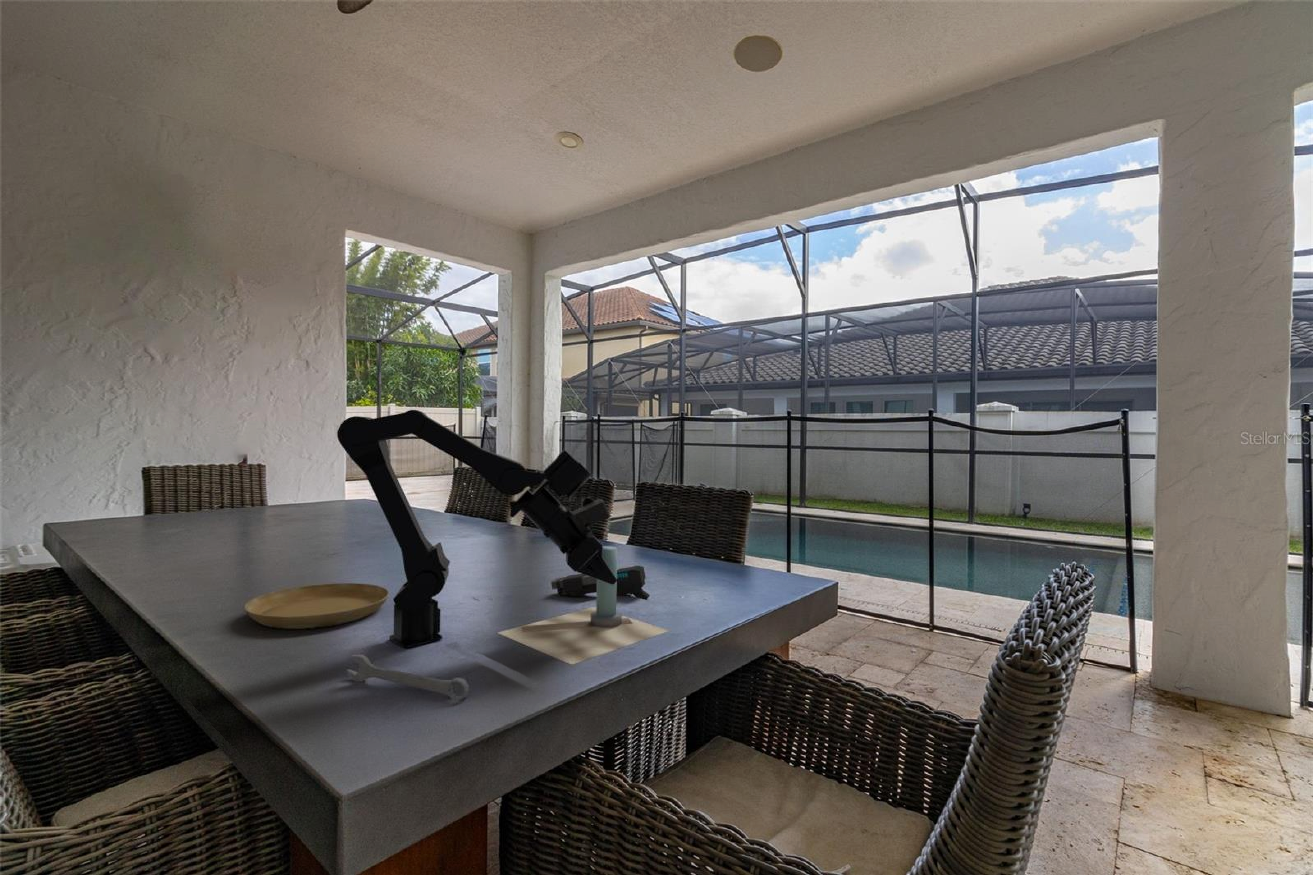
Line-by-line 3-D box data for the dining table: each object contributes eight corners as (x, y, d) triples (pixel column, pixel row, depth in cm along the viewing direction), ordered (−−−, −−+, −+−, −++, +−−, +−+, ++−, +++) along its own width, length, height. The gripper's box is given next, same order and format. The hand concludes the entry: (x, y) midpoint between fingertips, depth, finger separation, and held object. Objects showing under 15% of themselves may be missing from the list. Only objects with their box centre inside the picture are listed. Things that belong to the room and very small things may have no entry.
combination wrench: (470, 675, 80) (353, 650, 87) (464, 678, 79) (345, 654, 86) (469, 702, 81) (352, 676, 87) (463, 707, 79) (345, 680, 86)
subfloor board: (571, 671, 90) (571, 664, 90) (497, 638, 103) (497, 632, 103) (670, 636, 106) (670, 630, 106) (594, 611, 119) (594, 606, 119)
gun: (649, 602, 126) (634, 556, 126) (563, 627, 130) (549, 582, 130) (653, 596, 130) (639, 552, 131) (570, 621, 134) (556, 577, 134)
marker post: (610, 629, 106) (611, 552, 106) (584, 624, 109) (585, 548, 108) (627, 621, 111) (628, 547, 111) (602, 616, 113) (603, 544, 113)
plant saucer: (339, 591, 132) (339, 576, 132) (415, 608, 121) (415, 591, 121) (216, 621, 111) (216, 603, 111) (294, 644, 100) (295, 624, 100)
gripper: (589, 489, 99) (653, 554, 102) (577, 480, 117) (632, 535, 120) (539, 538, 98) (606, 603, 100) (535, 521, 116) (592, 576, 118)
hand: (610, 576), depth 110 cm, fingers open, 9 cm apart
